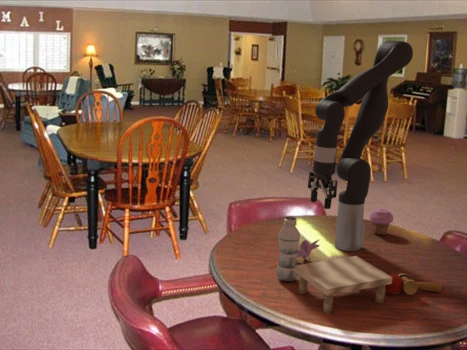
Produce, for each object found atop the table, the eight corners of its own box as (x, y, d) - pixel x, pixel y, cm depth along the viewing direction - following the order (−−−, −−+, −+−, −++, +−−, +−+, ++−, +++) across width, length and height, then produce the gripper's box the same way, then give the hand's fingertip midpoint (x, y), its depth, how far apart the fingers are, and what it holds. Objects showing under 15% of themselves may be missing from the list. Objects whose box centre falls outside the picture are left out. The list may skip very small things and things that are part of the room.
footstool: (354, 279, 178) (356, 255, 176) (389, 302, 163) (392, 277, 161) (293, 290, 169) (295, 265, 167) (325, 316, 154) (327, 289, 152)
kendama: (430, 289, 177) (376, 283, 174) (437, 272, 174) (382, 265, 171) (441, 304, 170) (385, 298, 167) (448, 287, 167) (391, 280, 164)
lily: (324, 262, 194) (314, 235, 195) (332, 262, 182) (321, 234, 184) (291, 274, 193) (282, 247, 194) (297, 274, 181) (287, 246, 182)
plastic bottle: (296, 285, 173) (300, 222, 168) (274, 282, 174) (278, 220, 169) (298, 276, 179) (302, 216, 174) (277, 274, 180) (280, 214, 176)
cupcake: (367, 235, 219) (369, 210, 216) (369, 228, 227) (371, 204, 224) (391, 238, 216) (393, 213, 214) (391, 231, 224) (394, 207, 222)
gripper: (346, 163, 188) (341, 210, 192) (322, 154, 200) (318, 199, 204) (327, 164, 185) (322, 211, 188) (304, 155, 197) (300, 200, 201)
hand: (320, 205), depth 196 cm, fingers open, 8 cm apart
